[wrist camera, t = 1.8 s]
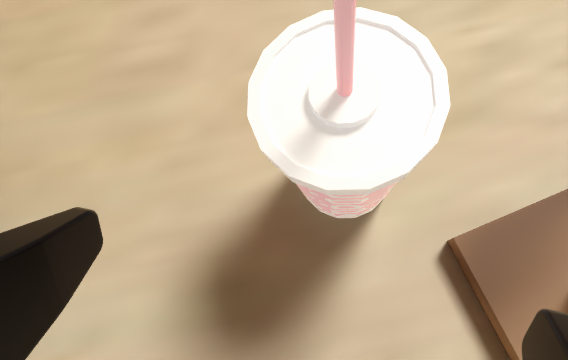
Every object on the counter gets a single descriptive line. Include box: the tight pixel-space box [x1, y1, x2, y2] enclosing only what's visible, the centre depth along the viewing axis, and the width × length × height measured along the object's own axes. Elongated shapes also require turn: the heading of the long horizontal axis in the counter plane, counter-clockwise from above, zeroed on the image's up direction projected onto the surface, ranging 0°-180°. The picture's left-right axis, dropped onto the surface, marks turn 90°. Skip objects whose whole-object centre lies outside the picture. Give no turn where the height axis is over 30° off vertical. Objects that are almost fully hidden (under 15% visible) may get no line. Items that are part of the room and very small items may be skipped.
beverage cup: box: [247, 0, 450, 218], centre depth 14 cm, size 6×6×14 cm
